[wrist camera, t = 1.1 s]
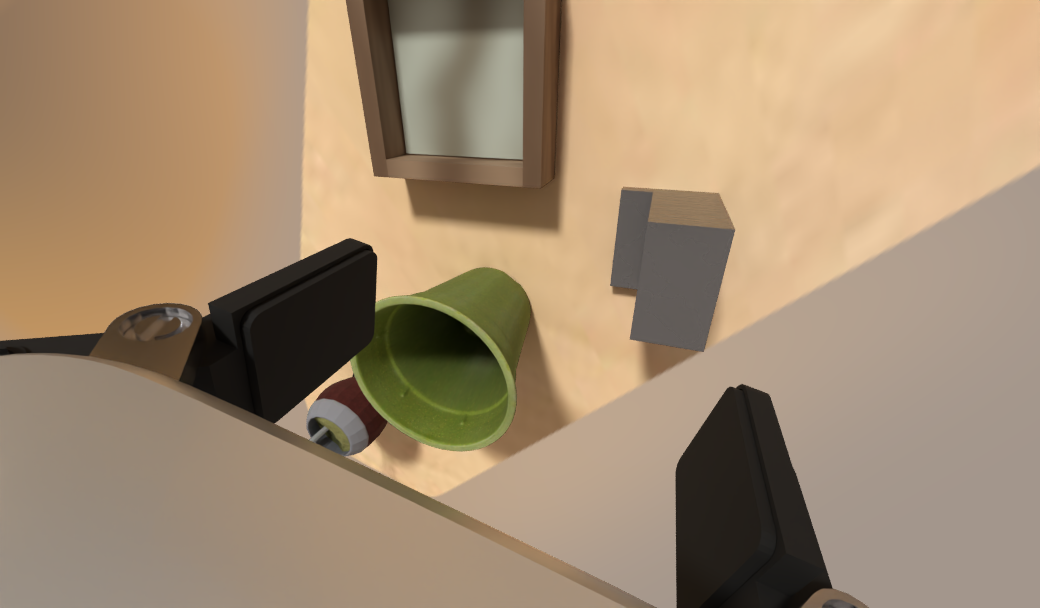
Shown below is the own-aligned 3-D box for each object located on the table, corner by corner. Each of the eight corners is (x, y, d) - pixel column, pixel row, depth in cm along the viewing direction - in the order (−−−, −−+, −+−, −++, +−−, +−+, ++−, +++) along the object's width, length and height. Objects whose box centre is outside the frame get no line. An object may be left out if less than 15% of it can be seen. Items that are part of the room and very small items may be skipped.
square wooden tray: (563, -48, 23) (547, -69, 20) (554, 178, 29) (540, 188, 26) (376, -31, 26) (338, -46, 23) (402, 168, 32) (374, 176, 29)
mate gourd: (411, 375, 43) (303, 495, 30) (402, 424, 47) (303, 547, 34) (350, 346, 44) (221, 451, 31) (347, 396, 48) (231, 506, 35)
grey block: (718, 193, 26) (734, 229, 19) (696, 291, 29) (703, 351, 23) (623, 186, 28) (607, 218, 21) (611, 280, 31) (595, 333, 24)
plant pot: (585, 333, 34) (552, 429, 24) (480, 375, 40) (421, 465, 30) (507, 210, 31) (435, 264, 22) (407, 275, 37) (316, 339, 27)
